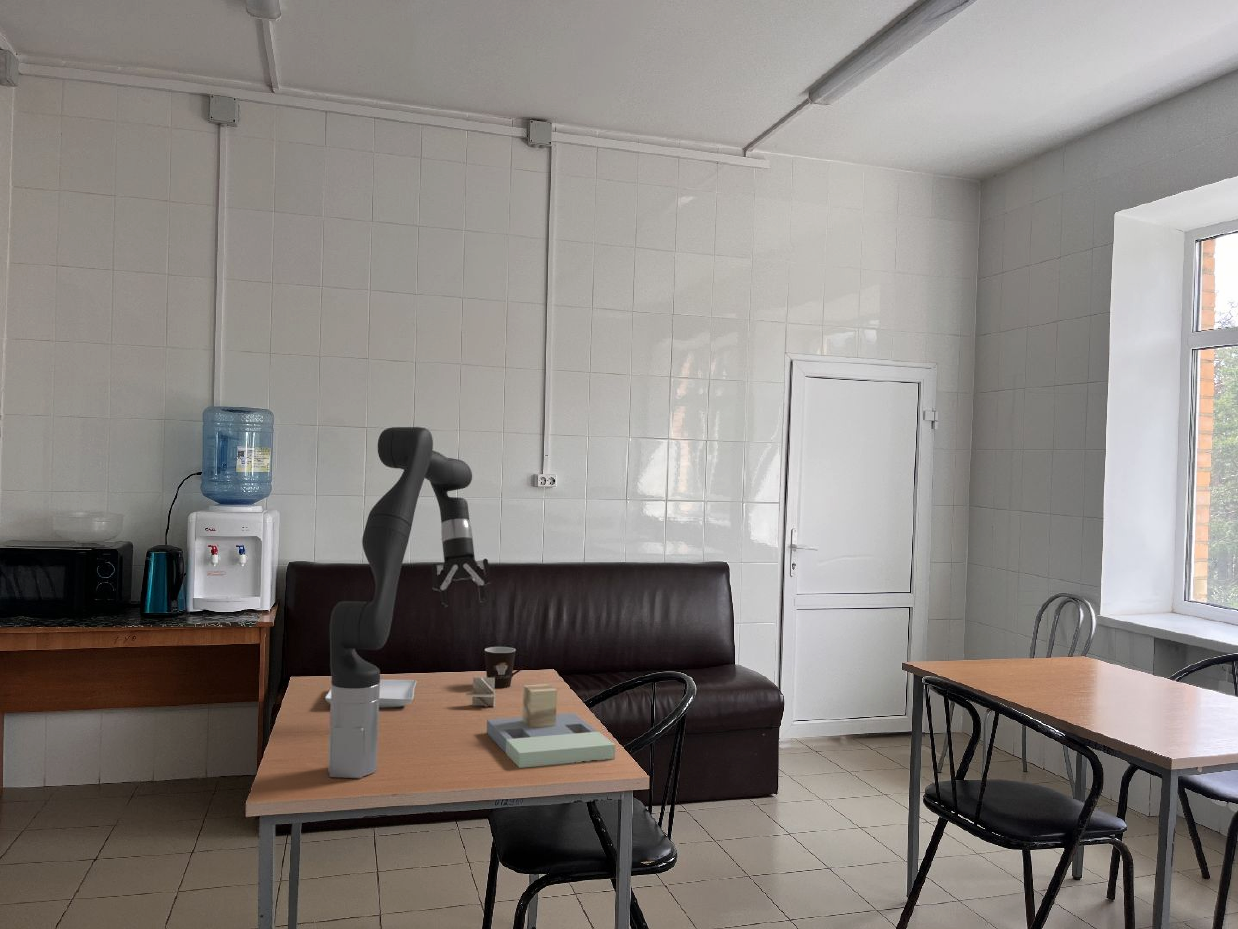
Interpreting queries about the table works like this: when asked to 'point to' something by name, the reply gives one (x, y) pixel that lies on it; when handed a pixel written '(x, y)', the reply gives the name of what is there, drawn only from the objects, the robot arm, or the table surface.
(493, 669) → the coffee mug
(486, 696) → the architectural model
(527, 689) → the birch block
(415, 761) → the table surface
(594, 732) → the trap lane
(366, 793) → the table surface
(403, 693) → the salad plate
